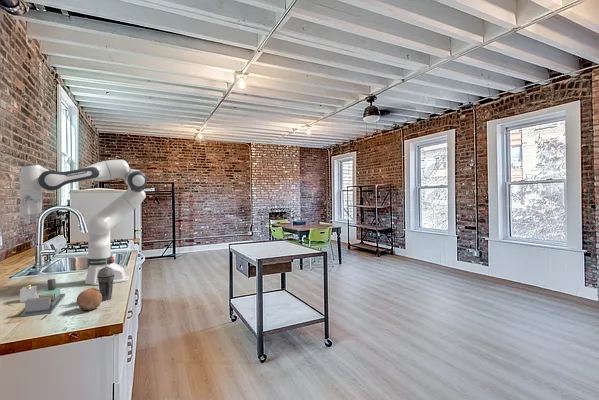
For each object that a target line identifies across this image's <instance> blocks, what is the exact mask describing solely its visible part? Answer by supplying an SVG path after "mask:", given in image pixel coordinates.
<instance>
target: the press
mask: <svg viewBox="0 0 599 400" xmlns="http://www.w3.org/2000/svg"><path fill="white" fill-rule="evenodd" d="M65 296H66V293H60V295H59V296H57V297H56V298H55V299H54V300H51V296H50V297H41V298H39V297H37V298H32V299H27V300H26V301H25V302H24V311H23V312H22V313H21V314H20V318H22V317H29V316H30V317H33V316H39V315H45V314H46V315H47V314H52V313H53V311H54V310H55V309H56V308H57V306H58V305H59V304H60V303H61V302H62V300H63V299H64V298H65Z"/></svg>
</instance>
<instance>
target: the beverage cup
mask: <svg viewBox="0 0 599 400" xmlns="http://www.w3.org/2000/svg"><path fill="white" fill-rule="evenodd" d="M114 275H115V274H114V271H113V270H112V269H111V268H109V267H107V258H106V267H105V268H102V269H101V270H100V271H99V272H98V276H97V277H98V281H99V285H98V290H99V292H100V293H101V294H102V301H101V302H106V300H107V301H110V300H112V297H113V296H112V295H113V288H114V283H113V279H114Z"/></svg>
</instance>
